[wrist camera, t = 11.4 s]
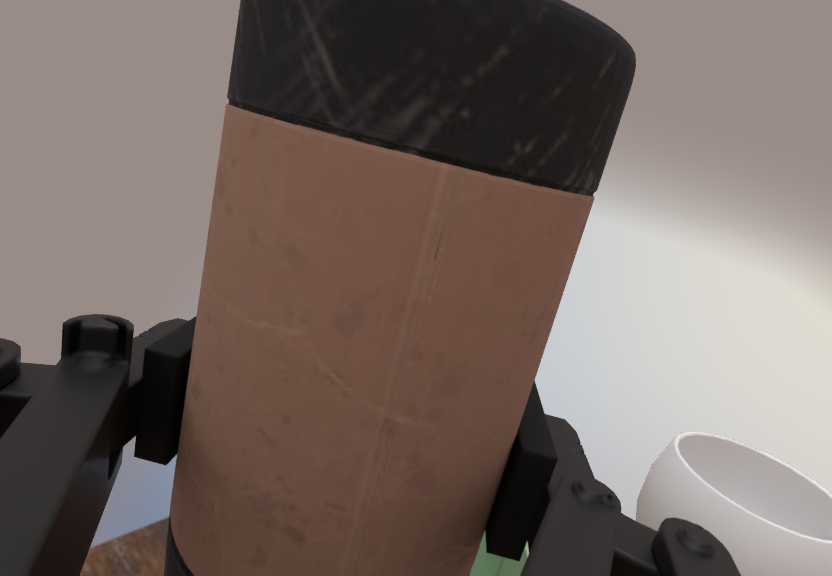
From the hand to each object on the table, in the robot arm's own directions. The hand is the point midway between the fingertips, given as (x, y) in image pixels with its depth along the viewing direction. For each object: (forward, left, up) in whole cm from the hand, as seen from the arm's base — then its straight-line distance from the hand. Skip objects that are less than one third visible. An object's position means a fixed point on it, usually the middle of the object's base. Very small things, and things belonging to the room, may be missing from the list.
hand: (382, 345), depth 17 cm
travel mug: (+1, -5, -11) cm, 12 cm away
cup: (+19, +17, -22) cm, 33 cm away
